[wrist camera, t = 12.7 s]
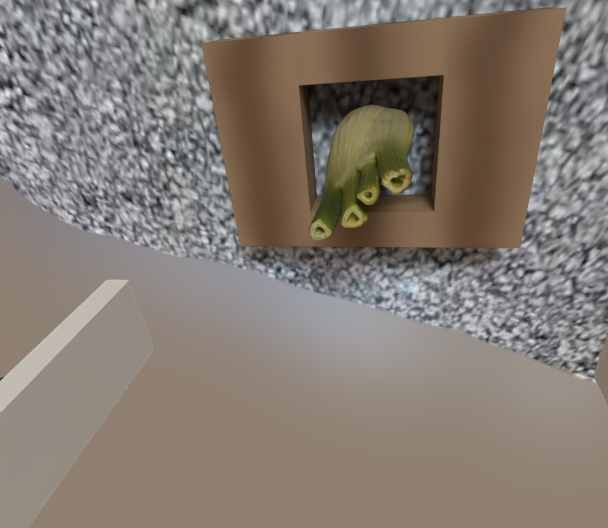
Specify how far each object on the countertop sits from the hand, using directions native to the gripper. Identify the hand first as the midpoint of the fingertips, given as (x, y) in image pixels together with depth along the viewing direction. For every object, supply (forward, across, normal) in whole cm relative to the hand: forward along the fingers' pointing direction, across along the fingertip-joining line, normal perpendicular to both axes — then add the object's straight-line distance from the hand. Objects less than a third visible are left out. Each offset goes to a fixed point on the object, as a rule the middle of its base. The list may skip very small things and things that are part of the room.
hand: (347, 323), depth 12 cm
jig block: (+21, 0, 0) cm, 21 cm away
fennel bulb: (+21, +1, 0) cm, 21 cm away
